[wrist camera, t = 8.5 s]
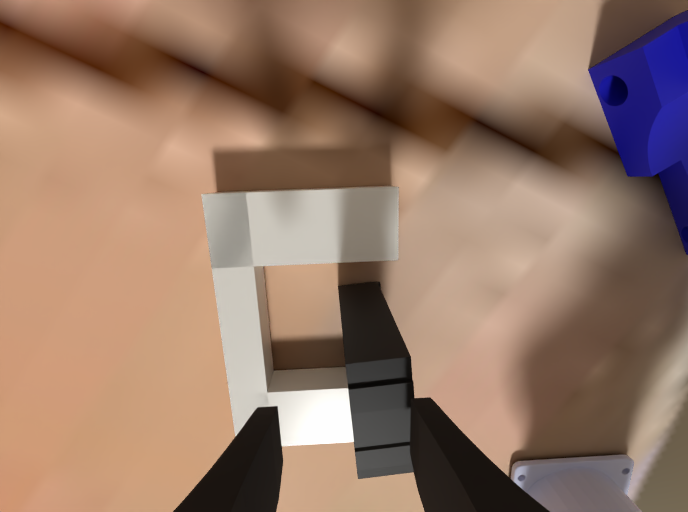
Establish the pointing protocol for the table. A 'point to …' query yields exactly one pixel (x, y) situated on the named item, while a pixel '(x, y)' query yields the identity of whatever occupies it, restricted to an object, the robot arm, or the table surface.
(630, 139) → the blue curved piece
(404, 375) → the ink cartridge
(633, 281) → the table surface
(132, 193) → the table surface
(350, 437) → the groove holder
